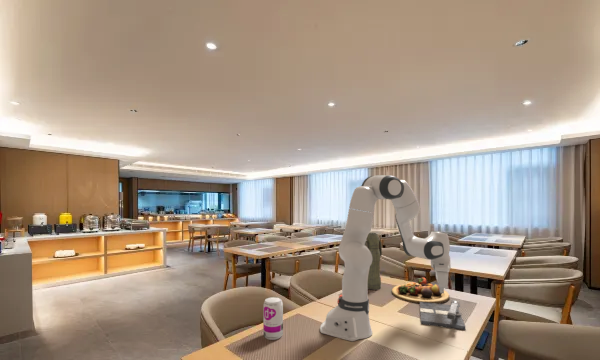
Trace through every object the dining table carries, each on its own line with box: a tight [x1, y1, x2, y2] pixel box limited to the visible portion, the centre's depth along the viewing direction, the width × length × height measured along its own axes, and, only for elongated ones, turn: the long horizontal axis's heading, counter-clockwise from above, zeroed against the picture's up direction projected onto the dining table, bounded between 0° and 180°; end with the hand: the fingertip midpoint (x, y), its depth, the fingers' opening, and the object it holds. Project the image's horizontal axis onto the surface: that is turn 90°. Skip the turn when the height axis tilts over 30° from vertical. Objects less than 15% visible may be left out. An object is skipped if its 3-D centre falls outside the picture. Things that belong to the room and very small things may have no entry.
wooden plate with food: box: [391, 277, 451, 305], centre depth 175 cm, size 32×32×8 cm
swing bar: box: [447, 299, 461, 320], centre depth 135 cm, size 21×4×2 cm, turn 147°
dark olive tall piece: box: [365, 232, 383, 291], centre depth 190 cm, size 9×12×35 cm
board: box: [419, 302, 466, 331], centre depth 144 cm, size 18×26×5 cm
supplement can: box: [262, 296, 284, 341], centre depth 125 cm, size 8×8×15 cm
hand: (441, 292), depth 144 cm, fingers closed
